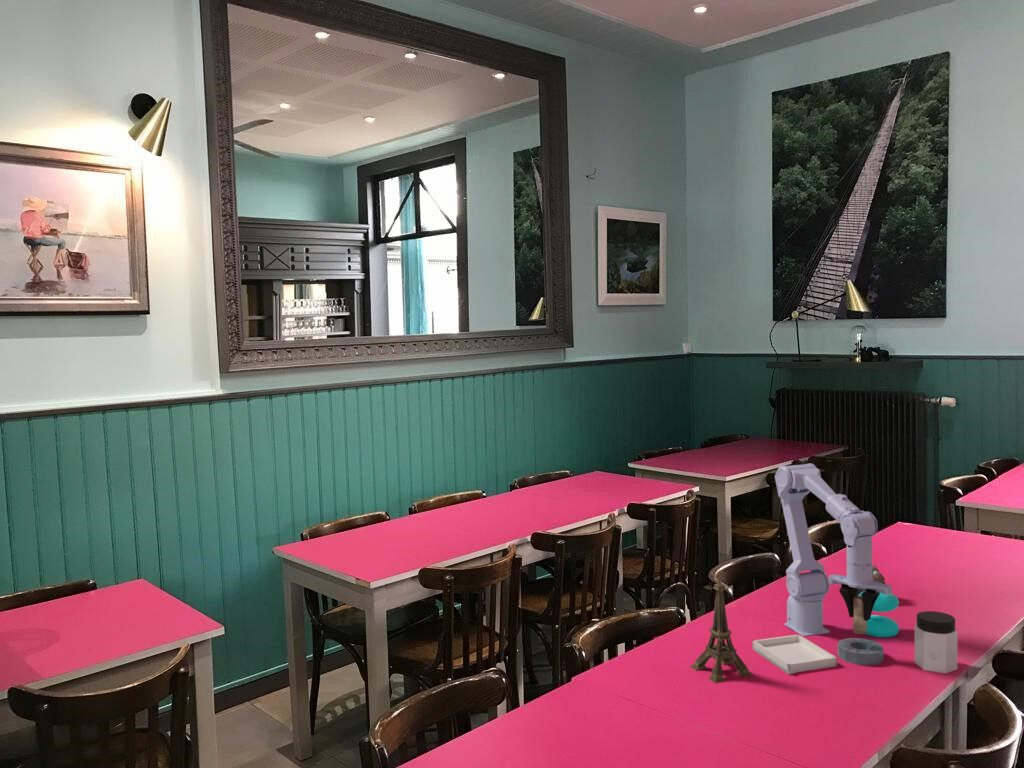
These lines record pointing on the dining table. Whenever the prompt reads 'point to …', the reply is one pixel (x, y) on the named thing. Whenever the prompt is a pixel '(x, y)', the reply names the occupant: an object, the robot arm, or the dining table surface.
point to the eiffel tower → (720, 643)
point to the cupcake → (873, 578)
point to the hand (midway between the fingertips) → (859, 617)
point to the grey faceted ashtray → (860, 651)
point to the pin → (859, 616)
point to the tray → (794, 653)
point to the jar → (936, 642)
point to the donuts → (881, 624)
